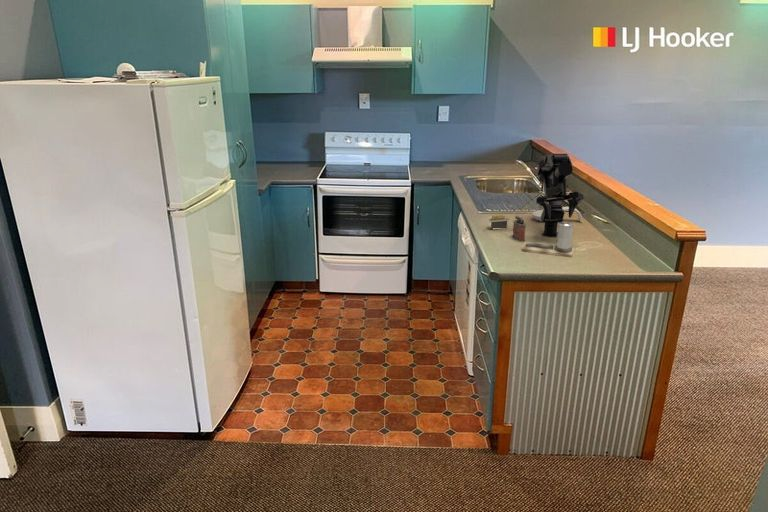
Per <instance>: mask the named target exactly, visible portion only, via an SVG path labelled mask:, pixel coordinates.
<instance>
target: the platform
mask: <svg viewBox="0 0 768 512" xmlns="http://www.w3.org/2000/svg"><path fill="white" fill-rule="evenodd" d="M488 220H489V223H491V225H490V230H491V229H493V228H507V229H508V222H509V221H511V219H510V218H507V217H506V216H505V215H503V214H500V215H492V216H491V218H489V219H488Z"/></svg>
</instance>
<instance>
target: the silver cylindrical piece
mask: <svg viewBox="0 0 768 512" xmlns="http://www.w3.org/2000/svg"><path fill="white" fill-rule="evenodd" d="M557 232H558V234H557V237H556V244H555V245H556V247H557V248H560V249H570V248H571V247H572V244H573V243H572V242H573V234H574V223H573V222H570V221H563V222H558V227H557Z"/></svg>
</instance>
